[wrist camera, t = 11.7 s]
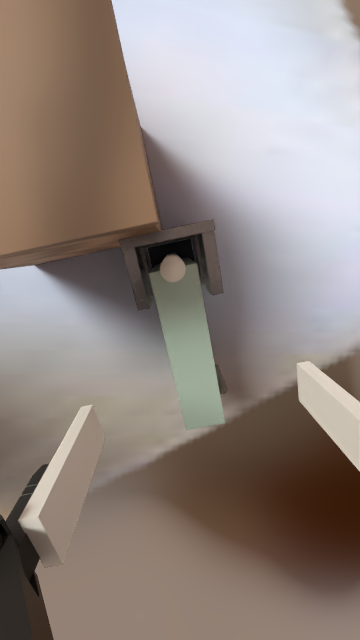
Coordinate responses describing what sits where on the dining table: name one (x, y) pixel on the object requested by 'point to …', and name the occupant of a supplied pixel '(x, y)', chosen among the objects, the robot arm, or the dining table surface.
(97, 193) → the cabinet
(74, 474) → the robot arm
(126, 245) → the grey open frame
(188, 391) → the door
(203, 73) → the dining table surface
